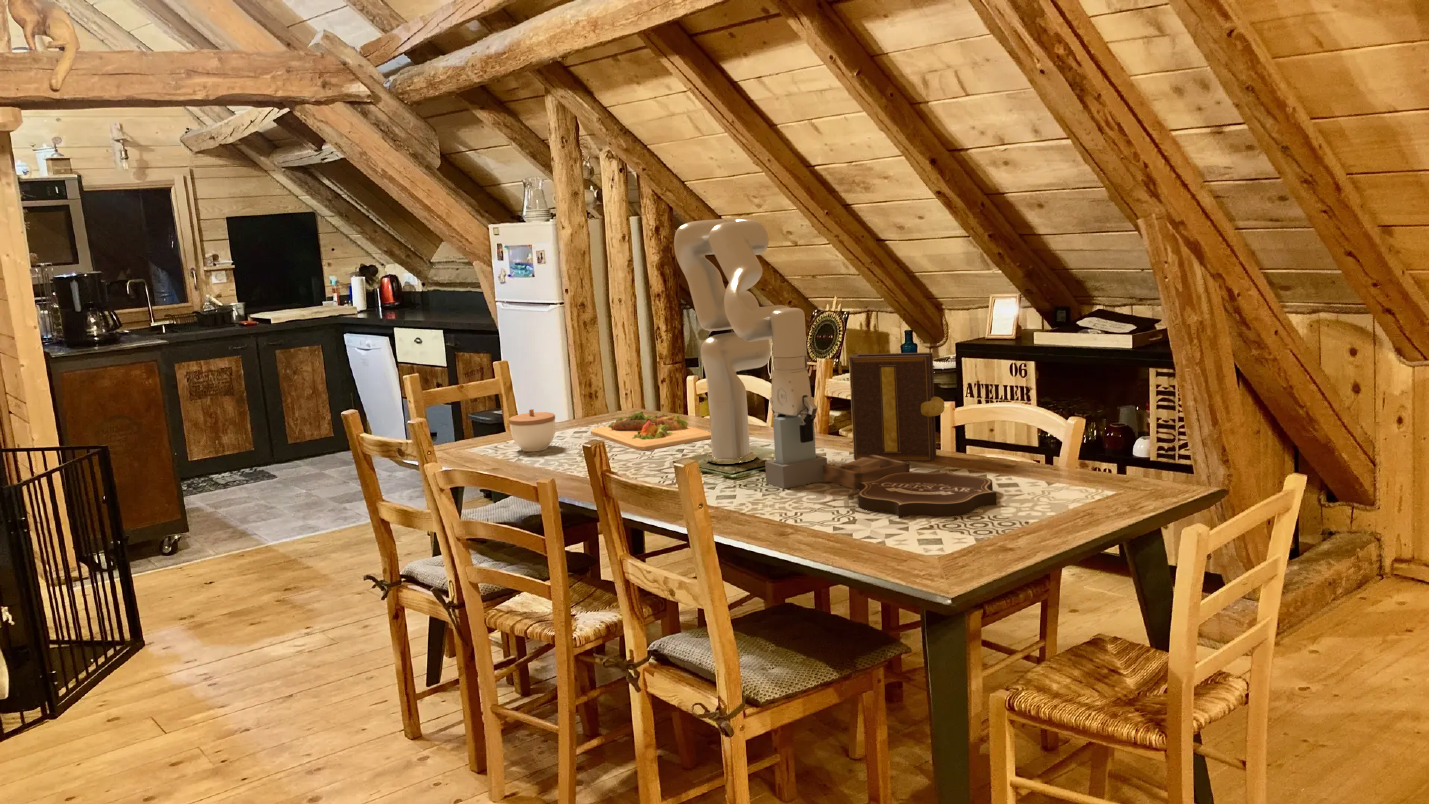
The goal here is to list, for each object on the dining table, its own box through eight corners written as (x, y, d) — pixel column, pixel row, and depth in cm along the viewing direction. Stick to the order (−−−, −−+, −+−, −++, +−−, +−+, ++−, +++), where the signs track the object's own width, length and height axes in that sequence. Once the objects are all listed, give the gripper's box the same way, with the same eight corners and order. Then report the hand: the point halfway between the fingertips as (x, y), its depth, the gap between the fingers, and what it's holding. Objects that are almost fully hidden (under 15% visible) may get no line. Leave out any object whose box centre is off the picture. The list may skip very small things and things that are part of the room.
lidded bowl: (567, 445, 323) (563, 406, 321) (536, 455, 313) (532, 414, 311) (533, 442, 330) (529, 404, 328) (502, 452, 320) (498, 412, 318)
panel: (776, 479, 263) (772, 418, 260) (809, 472, 267) (806, 412, 265) (783, 481, 260) (780, 420, 258) (816, 474, 264) (813, 414, 262)
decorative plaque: (828, 500, 235) (885, 466, 261) (829, 514, 236) (885, 479, 261) (972, 511, 220) (1017, 474, 245) (973, 526, 220) (1018, 488, 246)
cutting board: (716, 439, 320) (715, 413, 318) (640, 453, 309) (638, 425, 307) (659, 423, 350) (657, 399, 349) (588, 435, 339) (585, 410, 337)
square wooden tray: (823, 480, 263) (822, 465, 262) (874, 469, 270) (873, 454, 269) (858, 490, 252) (857, 474, 251) (909, 478, 259) (909, 463, 258)
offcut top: (844, 473, 261) (844, 464, 261) (863, 466, 266) (863, 457, 266) (861, 475, 258) (860, 466, 257) (880, 469, 263) (879, 459, 262)
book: (851, 461, 280) (846, 358, 276) (858, 453, 288) (853, 353, 283) (943, 462, 272) (939, 356, 268) (948, 454, 280) (944, 351, 276)
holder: (766, 483, 264) (765, 461, 263) (809, 474, 270) (808, 453, 269) (784, 488, 258) (782, 466, 257) (828, 479, 263) (826, 457, 263)
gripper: (755, 362, 265) (760, 436, 268) (798, 369, 250) (802, 447, 253) (782, 358, 268) (787, 431, 271) (826, 364, 254) (830, 441, 256)
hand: (794, 438), depth 262 cm, fingers open, 9 cm apart
